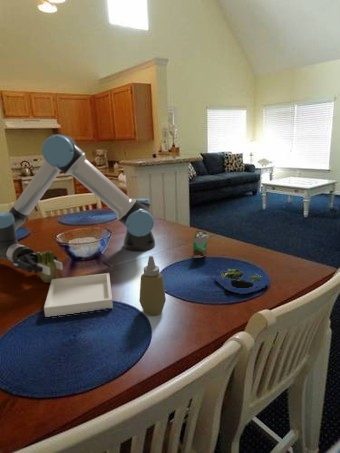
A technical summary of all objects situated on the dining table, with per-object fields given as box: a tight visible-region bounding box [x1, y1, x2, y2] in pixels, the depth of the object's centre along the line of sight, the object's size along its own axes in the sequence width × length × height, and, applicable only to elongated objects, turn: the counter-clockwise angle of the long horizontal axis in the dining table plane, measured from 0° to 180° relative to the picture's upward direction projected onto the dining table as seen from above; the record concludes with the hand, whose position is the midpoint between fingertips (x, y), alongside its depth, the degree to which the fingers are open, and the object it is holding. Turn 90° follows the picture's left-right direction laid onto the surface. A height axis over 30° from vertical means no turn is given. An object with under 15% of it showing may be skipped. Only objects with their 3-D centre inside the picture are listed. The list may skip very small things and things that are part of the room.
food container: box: [192, 229, 210, 257], centre depth 142 cm, size 12×6×10 cm, turn 168°
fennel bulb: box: [36, 250, 58, 284], centre depth 119 cm, size 6×5×12 cm
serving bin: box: [43, 272, 114, 317], centre depth 108 cm, size 20×20×4 cm
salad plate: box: [220, 268, 261, 288], centre depth 118 cm, size 19×18×5 cm
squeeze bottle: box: [138, 255, 167, 316], centre depth 97 cm, size 8×8×18 cm
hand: (55, 268), depth 116 cm, fingers closed on fennel bulb, 4 cm apart
